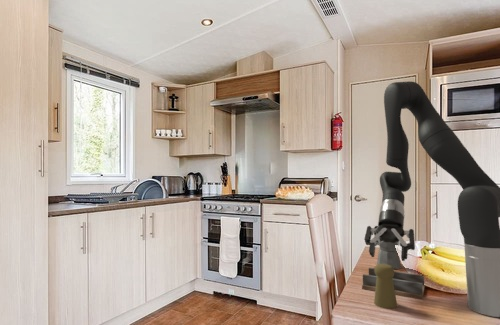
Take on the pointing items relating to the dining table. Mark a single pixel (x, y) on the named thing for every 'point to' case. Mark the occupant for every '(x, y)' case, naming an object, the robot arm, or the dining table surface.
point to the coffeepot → (388, 254)
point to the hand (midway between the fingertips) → (387, 257)
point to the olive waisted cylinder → (385, 287)
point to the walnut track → (398, 283)
